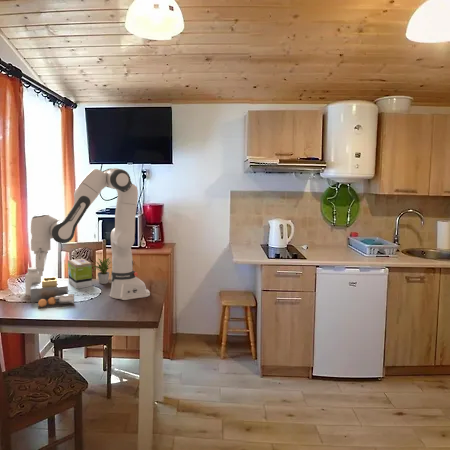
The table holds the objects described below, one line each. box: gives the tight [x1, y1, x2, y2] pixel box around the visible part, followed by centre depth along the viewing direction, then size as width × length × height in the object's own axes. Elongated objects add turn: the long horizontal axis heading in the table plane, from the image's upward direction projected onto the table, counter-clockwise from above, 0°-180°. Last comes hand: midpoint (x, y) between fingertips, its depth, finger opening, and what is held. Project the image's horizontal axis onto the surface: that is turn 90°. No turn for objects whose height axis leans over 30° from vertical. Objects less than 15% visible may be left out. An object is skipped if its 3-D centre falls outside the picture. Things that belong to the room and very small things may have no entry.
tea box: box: [67, 258, 93, 290], centre depth 246 cm, size 15×10×15 cm, turn 38°
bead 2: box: [47, 297, 57, 305], centre depth 208 cm, size 4×4×4 cm
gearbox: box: [30, 276, 69, 304], centre depth 218 cm, size 18×12×11 cm, turn 111°
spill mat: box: [37, 301, 75, 310], centre depth 208 cm, size 17×9×1 cm, turn 111°
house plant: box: [92, 257, 112, 285], centre depth 252 cm, size 14×14×16 cm
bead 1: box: [37, 299, 48, 307], centre depth 204 cm, size 4×4×4 cm
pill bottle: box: [24, 266, 42, 297], centre depth 225 cm, size 8×8×15 cm
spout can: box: [55, 293, 75, 305], centre depth 209 cm, size 9×5×5 cm, turn 111°
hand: (41, 273), depth 202 cm, fingers open, 8 cm apart
